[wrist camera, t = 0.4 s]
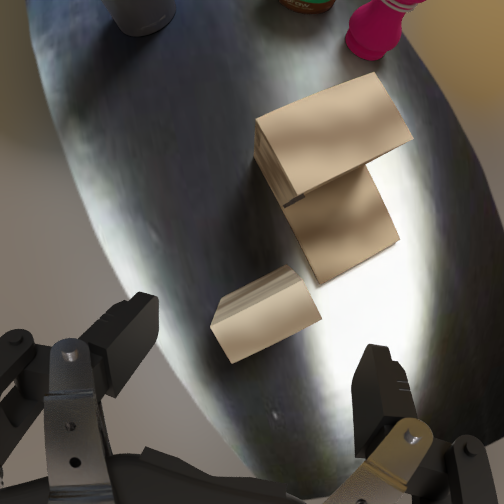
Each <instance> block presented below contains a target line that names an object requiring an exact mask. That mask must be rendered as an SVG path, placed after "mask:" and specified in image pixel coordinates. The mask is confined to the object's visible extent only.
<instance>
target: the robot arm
mask: <svg viewBox="0 0 504 504" xmlns="http://www.w3.org/2000/svg"><path fill="white" fill-rule="evenodd" d="M101 1H102V2H103V4H104V5H105V7H106V8H107V10H108V11H109V13H110V14H111V16H112V18H113V19H114V21H115V22H116V24H117V25H118V27H119V28H120V30H121V31H122V32H123V33H125V34H126V35H129V36H145V35H149V34H152V33H154V32H156V31H158V30H160V29H161V28H163V27H164V26H165V25H167V24H168V23H169V22H170V21H171V19H172V18H173V16H174V14H175V12H176V4H175V1H174V0H101ZM158 332H159V300H158V297H157V296H154V295H150V294H147V293H143V292H137V293H136V294H135V295H134V296H133V297H132V298H131V299H130V300H129V301H126V300H123V301H122V302H119V303H117V304H114V305H113V306H112V307H111V308H110V309H108V310H107V311H106V313H105V314H103V315H102V316H101V317H100V319H99V320H97V321H96V322H95V323H94V324H93V325H92V326H91V327H90V328H89V329H88V330H87V331H86V332H85V333H83V334H82V335H81V336H80V337H79V338H78V339H76V338H68V339H63V340H60V341H58V342H57V343H55V344H54V345H53V347H50V346H45V345H39V344H35V343H34V339H33V336H32V334H31V333H30V332H29V331H27V330H24V329H14V330H11V331H8V332H7V333H5V334H4V335H3V336H1V337H0V396H1V394H2V393H3V391H4V390H5V389H6V388H7V387H8V386H9V385H10V383H11V382H12V381H14V383H15V386H14V387H13V388H12V389H11V390H10V392H9V393H8V394H7V395H6V396H5V397H4V398H3V400H2V401H1V402H0V504H306V503H305V502H303V501H302V500H300V499H299V498H297V497H295V496H293V495H290V494H288V493H286V490H287V484H286V483H279V482H273V481H268V480H262V479H257V478H252V477H216V476H211V475H208V474H206V473H204V472H203V471H201V470H199V469H197V468H195V467H193V466H192V465H190V464H188V463H186V462H184V461H183V460H181V459H179V458H177V457H174V456H171V455H168V454H165V453H162V452H159V451H157V450H154V449H151V448H149V447H145V448H144V450H143V452H142V454H130V453H129V454H128V453H127V454H116V455H113V453H112V450H111V446H110V442H109V438H108V433H107V429H106V424H105V419H104V413H103V408H102V403H101V399H102V398H103V396H104V395H105V394H106V395H108V396H111V397H113V398H116V397H117V395H118V394H119V393H120V391H121V390H122V388H123V387H124V386H125V384H126V383H127V381H128V380H129V379H130V377H131V376H132V374H133V373H134V371H135V370H136V369H137V367H138V366H139V365H140V363H141V362H142V360H143V359H144V358H145V356H146V355H147V354H148V352H149V351H150V349H151V348H152V347H153V345H154V344H155V342H156V340H157V337H158ZM351 393H352V407H353V423H354V444H355V458H365V459H366V460H365V461H364V462H363V463H362V464H361V465H360V466H359V467H358V469H357V470H356V471H355V472H354V473H353V474H352V475H351V476H350V477H349V478H348V479H347V480H346V481H345V482H344V483H343V484H342V485H341V486H340V487H339V488H338V489H337V490H336V491H335V492H334V493H333V494H332V495H331V496H330V497H329V498H328V499H327V500H326V501H325V502H324V503H323V504H397V502H398V501H399V499H400V498H401V496H402V495H403V494H404V493H408V494H411V495H412V504H498V500H497V495H496V490H495V485H494V481H493V477H492V472H491V469H490V465H489V460H488V457H487V453H486V449H485V447H484V445H483V444H482V442H481V441H480V440H478V439H477V438H475V437H473V436H470V435H462V436H460V437H458V438H457V439H456V440H455V442H454V443H449V442H446V441H442V440H439V439H436V438H434V437H433V434H432V431H431V429H430V428H429V427H428V425H426V424H425V423H424V422H423V421H421V420H419V419H418V418H417V413H416V409H415V406H414V402H413V398H412V394H411V391H410V387H409V383H408V380H407V376H406V373H405V370H404V369H403V368H402V366H401V365H400V364H399V363H398V361H392V359H391V355H390V351H389V348H388V347H386V346H380V345H374V344H368V345H367V347H366V349H365V351H364V353H363V355H362V358H361V360H360V362H359V365H358V367H357V369H356V371H355V373H354V376H353V380H352V385H351ZM43 409H44V432H45V449H46V461H47V470H48V476H47V477H43V478H40V479H36V480H33V481H29V482H25V483H22V484H18V485H14V486H10V487H6V488H3V481H2V479H3V468H2V465H3V464H4V463H5V461H6V460H7V458H8V457H9V455H10V454H11V452H12V451H13V450H14V448H15V447H16V445H17V444H18V443H19V441H20V440H21V438H22V437H23V436H24V434H25V433H26V431H27V430H28V429H29V427H30V426H31V425H32V423H33V422H34V420H35V419H36V418H37V416H38V415H39V414H40V413H41V411H42V410H43Z"/></svg>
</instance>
